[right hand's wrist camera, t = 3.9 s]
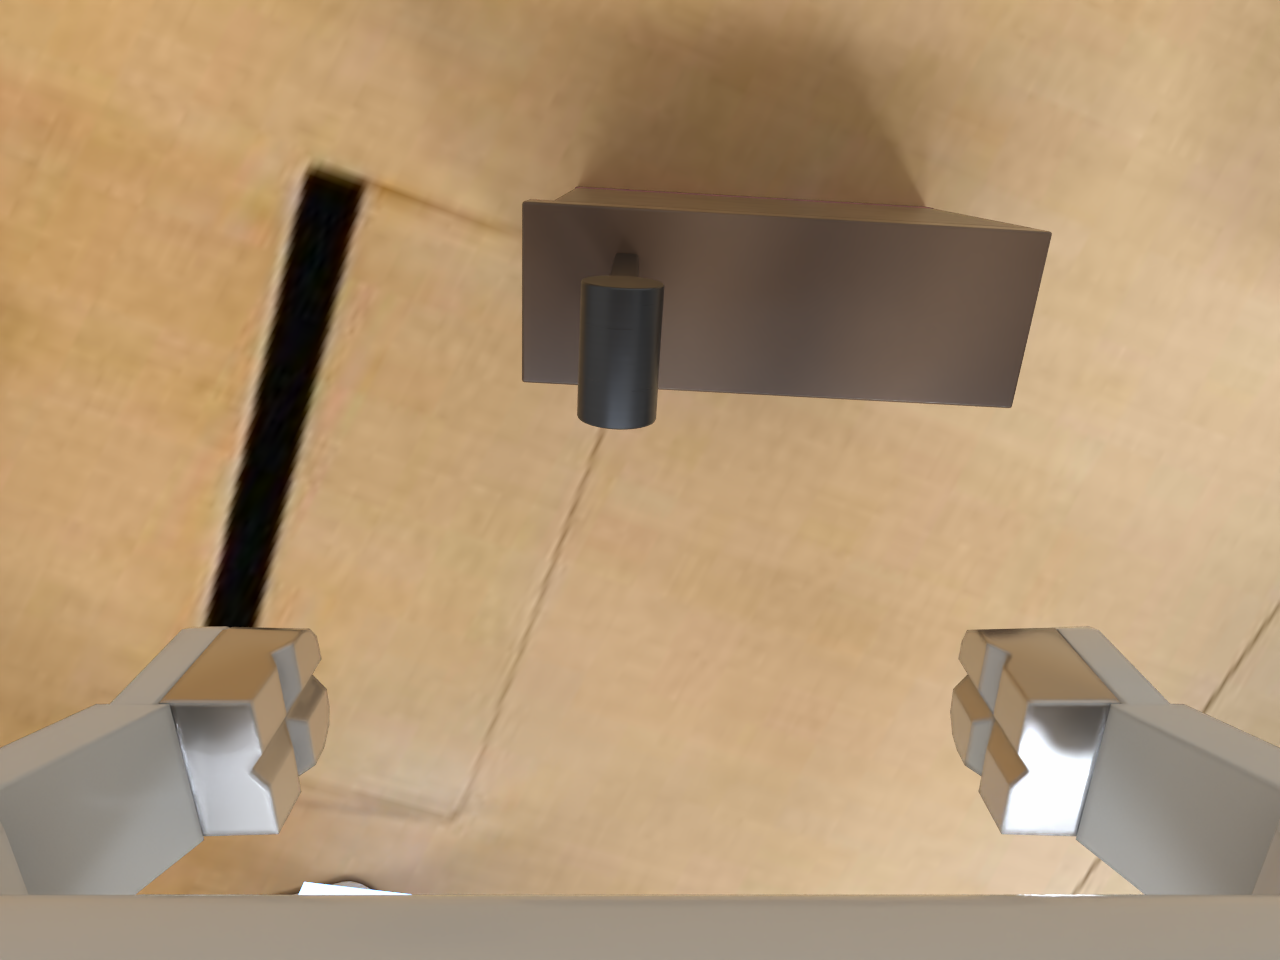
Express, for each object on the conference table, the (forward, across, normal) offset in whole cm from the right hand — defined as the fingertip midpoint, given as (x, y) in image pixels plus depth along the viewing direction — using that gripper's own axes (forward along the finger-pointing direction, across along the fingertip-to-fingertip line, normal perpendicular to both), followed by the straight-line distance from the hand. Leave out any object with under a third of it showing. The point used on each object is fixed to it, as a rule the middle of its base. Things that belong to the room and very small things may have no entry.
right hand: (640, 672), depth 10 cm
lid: (+17, -4, -2) cm, 18 cm away
